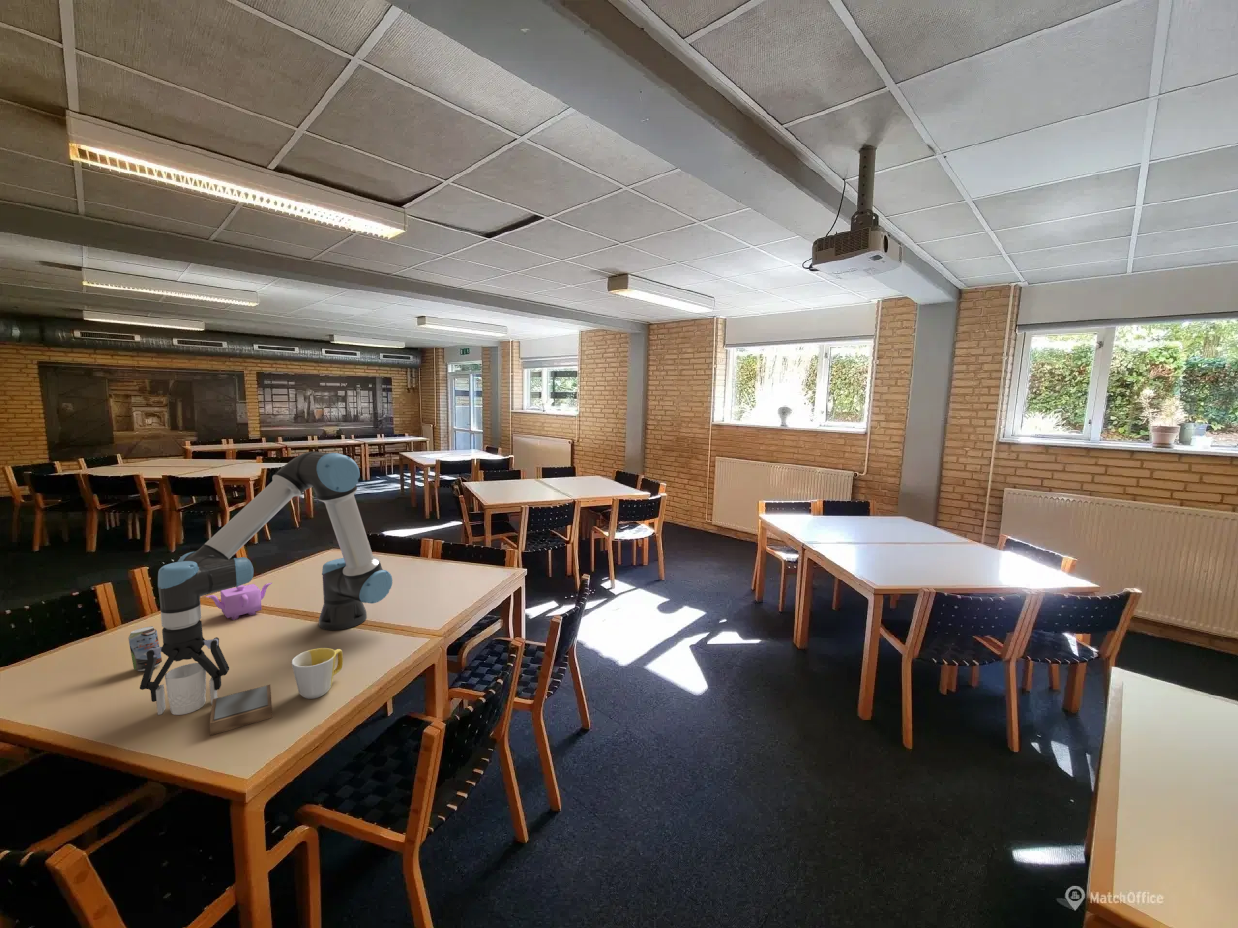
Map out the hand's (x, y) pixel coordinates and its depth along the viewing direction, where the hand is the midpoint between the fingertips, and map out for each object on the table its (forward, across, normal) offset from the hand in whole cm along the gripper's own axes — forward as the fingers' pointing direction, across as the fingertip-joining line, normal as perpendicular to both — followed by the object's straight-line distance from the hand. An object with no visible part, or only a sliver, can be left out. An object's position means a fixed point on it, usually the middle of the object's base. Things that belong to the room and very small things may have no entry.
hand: (188, 706), depth 126 cm
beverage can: (0, +17, -29) cm, 34 cm away
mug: (0, -30, +5) cm, 30 cm away
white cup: (0, 0, 0) cm, 0 cm away
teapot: (0, +1, -64) cm, 64 cm away
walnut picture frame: (0, -13, +9) cm, 16 cm away
